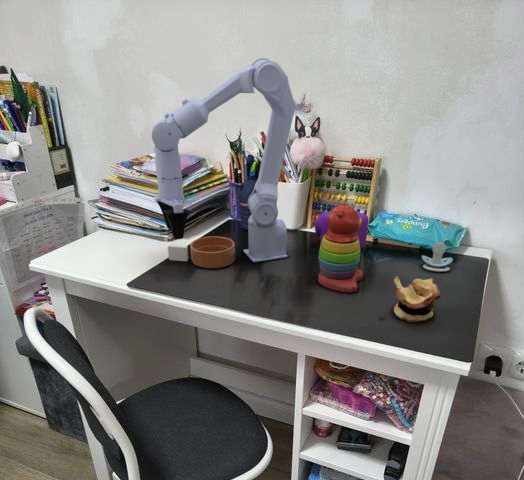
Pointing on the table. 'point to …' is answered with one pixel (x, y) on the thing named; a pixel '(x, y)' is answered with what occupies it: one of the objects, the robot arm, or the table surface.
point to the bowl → (212, 252)
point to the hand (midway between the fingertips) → (175, 233)
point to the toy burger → (416, 298)
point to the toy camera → (323, 227)
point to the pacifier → (437, 259)
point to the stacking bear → (341, 251)
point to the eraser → (178, 252)
